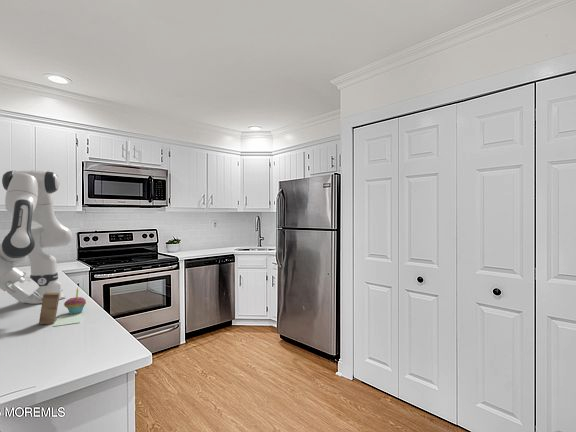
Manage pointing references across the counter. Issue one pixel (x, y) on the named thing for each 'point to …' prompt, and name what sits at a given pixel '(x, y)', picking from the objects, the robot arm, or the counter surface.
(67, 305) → the cupcake
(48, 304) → the block
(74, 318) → the mat
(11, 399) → the counter surface
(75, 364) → the counter surface
